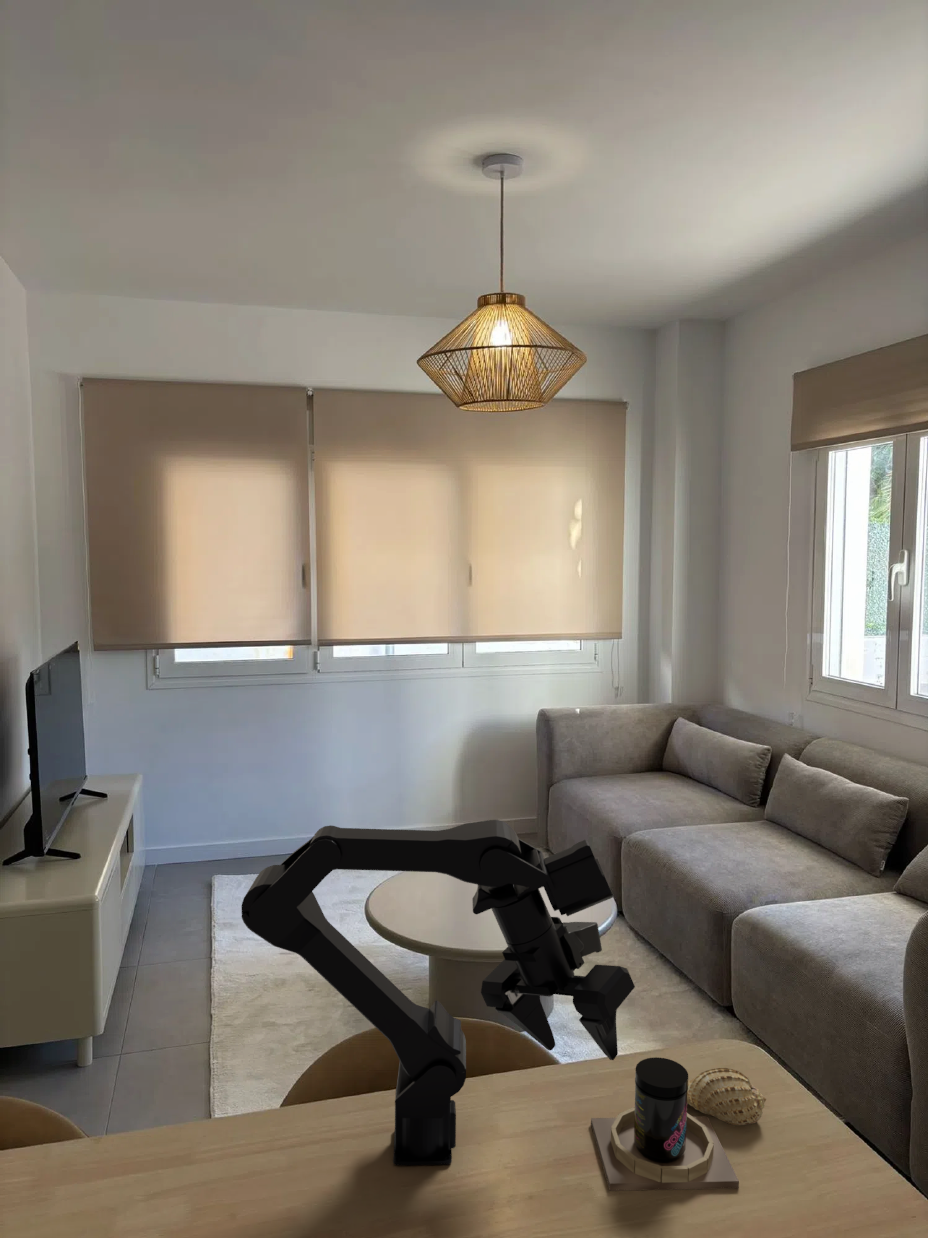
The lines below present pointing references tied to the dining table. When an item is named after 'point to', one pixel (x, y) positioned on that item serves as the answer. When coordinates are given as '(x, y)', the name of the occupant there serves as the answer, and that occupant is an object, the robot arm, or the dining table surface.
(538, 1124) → the dining table surface
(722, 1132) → the dining table surface
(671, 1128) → the supplement container
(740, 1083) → the seashell
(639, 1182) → the collar board
